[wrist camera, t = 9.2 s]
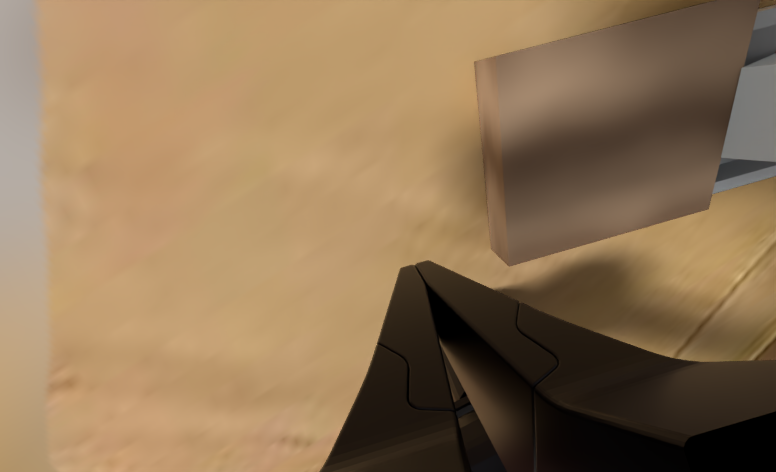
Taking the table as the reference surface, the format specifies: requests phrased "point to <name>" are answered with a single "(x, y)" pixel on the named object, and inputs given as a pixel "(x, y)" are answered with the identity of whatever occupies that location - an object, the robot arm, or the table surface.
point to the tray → (768, 37)
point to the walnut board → (608, 127)
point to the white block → (753, 114)
